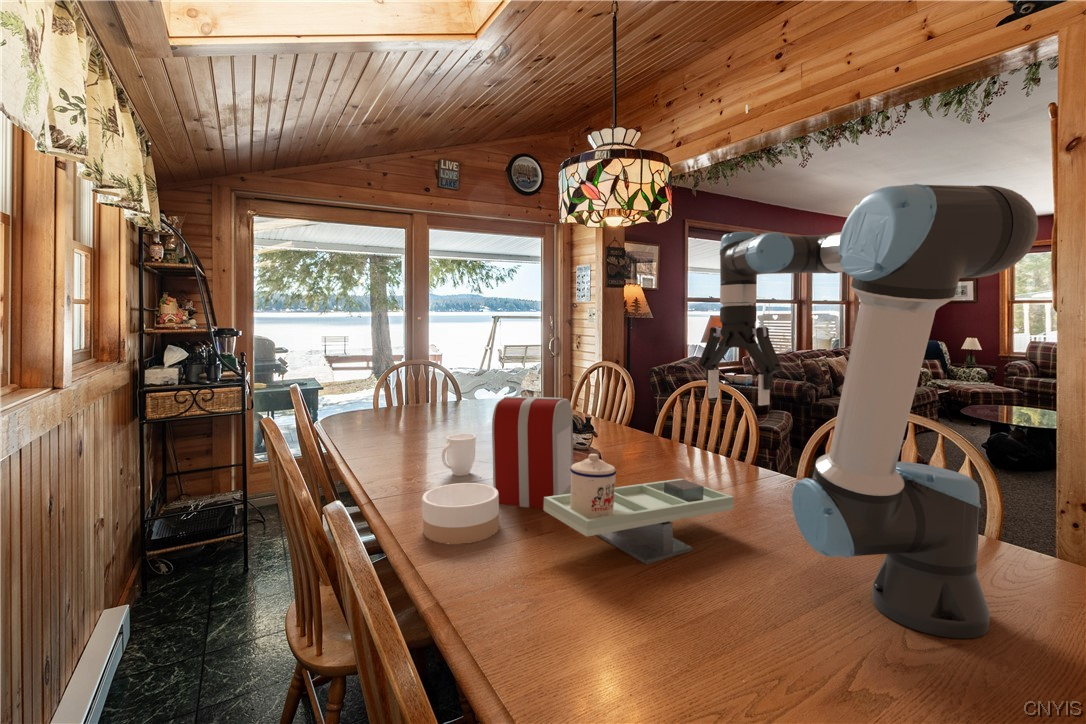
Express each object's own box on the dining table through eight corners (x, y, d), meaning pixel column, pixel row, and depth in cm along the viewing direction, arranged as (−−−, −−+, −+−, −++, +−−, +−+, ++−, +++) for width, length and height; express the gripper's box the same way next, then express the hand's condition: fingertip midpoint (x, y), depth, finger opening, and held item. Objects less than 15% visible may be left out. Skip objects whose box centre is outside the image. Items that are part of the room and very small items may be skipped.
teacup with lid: (596, 523, 101) (598, 462, 101) (559, 511, 108) (561, 453, 107) (631, 509, 110) (633, 453, 110) (595, 499, 116) (597, 446, 116)
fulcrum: (692, 550, 110) (692, 519, 109) (646, 564, 104) (646, 531, 103) (635, 522, 125) (635, 494, 125) (593, 533, 119) (592, 504, 119)
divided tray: (733, 509, 116) (733, 496, 116) (586, 536, 98) (587, 521, 98) (680, 490, 130) (681, 478, 130) (543, 510, 112) (543, 497, 112)
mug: (462, 468, 175) (462, 431, 174) (481, 473, 169) (481, 435, 168) (434, 476, 166) (433, 438, 164) (453, 482, 160) (453, 442, 159)
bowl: (408, 531, 123) (406, 495, 122) (467, 511, 136) (466, 478, 135) (455, 552, 111) (453, 512, 111) (514, 527, 124) (514, 492, 123)
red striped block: (557, 510, 135) (555, 403, 133) (492, 503, 140) (489, 401, 138) (574, 490, 150) (573, 394, 148) (515, 485, 156) (513, 392, 154)
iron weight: (703, 499, 119) (703, 486, 119) (682, 503, 116) (683, 489, 116) (683, 492, 124) (684, 479, 124) (663, 495, 121) (664, 482, 121)
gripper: (801, 302, 109) (799, 406, 111) (706, 306, 131) (705, 393, 132) (777, 302, 106) (776, 410, 107) (683, 307, 127) (683, 396, 129)
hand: (737, 401), depth 120 cm, fingers open, 13 cm apart
